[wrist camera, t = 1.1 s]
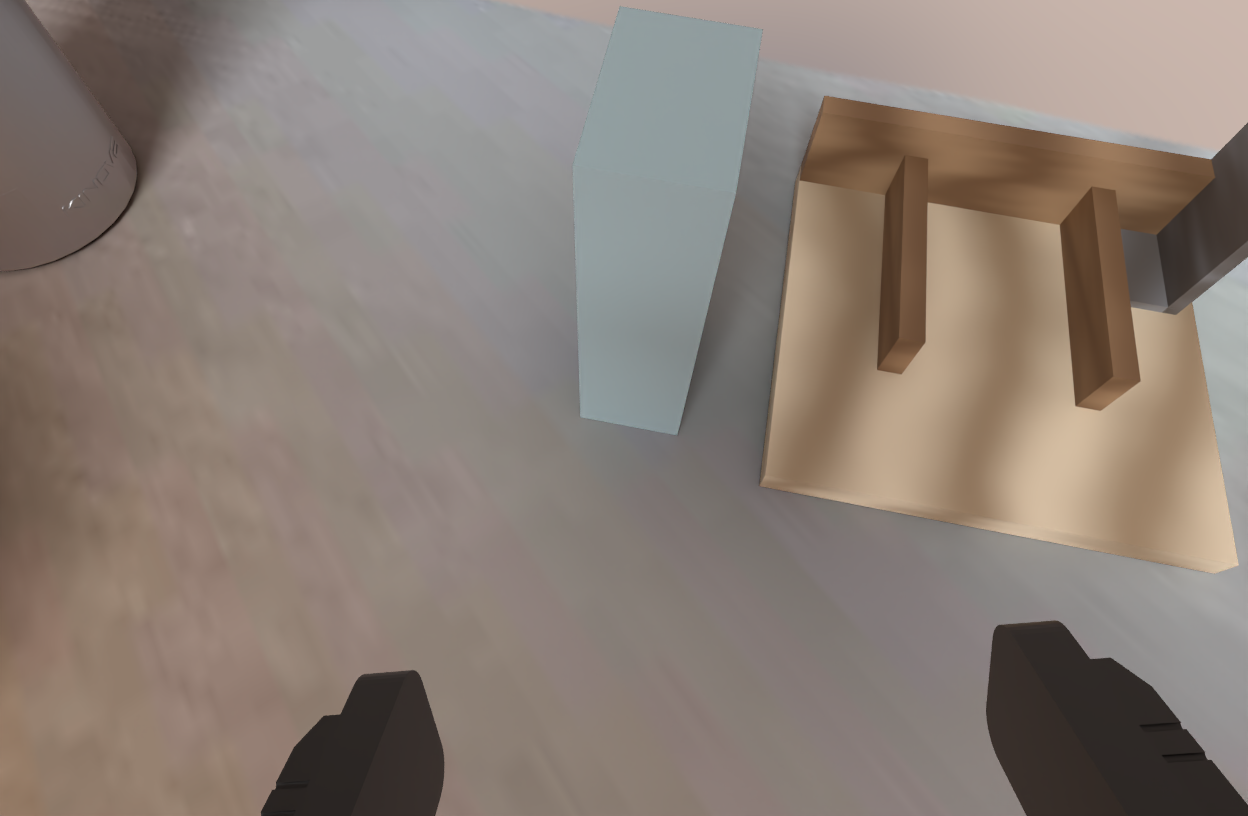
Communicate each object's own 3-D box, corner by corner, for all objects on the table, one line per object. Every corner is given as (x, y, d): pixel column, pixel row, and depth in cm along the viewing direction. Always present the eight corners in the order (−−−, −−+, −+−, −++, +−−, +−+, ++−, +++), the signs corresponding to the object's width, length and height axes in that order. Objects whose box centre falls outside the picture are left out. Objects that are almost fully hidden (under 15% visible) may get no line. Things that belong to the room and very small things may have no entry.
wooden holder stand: (759, 485, 30) (899, 234, 16) (795, 182, 37) (913, -170, 23) (1214, 573, 29) (1766, 384, 15) (1161, 245, 36) (1506, -83, 22)
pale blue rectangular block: (580, 417, 31) (572, 164, 18) (609, 297, 34) (620, 6, 21) (677, 435, 31) (736, 193, 18) (698, 313, 33) (762, 29, 21)
